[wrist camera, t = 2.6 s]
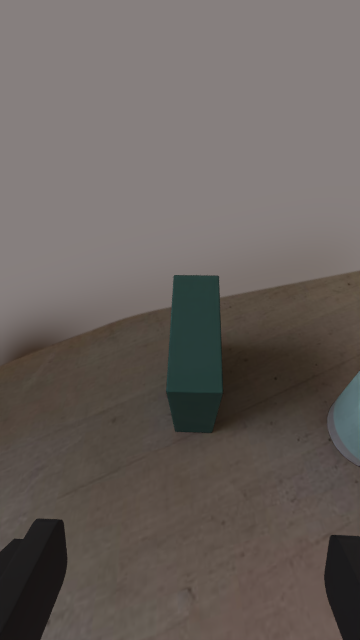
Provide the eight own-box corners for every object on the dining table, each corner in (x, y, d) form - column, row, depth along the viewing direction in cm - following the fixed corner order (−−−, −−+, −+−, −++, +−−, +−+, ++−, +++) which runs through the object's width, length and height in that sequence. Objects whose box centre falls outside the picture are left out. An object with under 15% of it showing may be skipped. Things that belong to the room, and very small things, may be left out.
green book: (175, 431, 25) (166, 391, 16) (179, 343, 29) (173, 274, 20) (212, 432, 24) (223, 393, 16) (210, 344, 29) (219, 275, 20)
